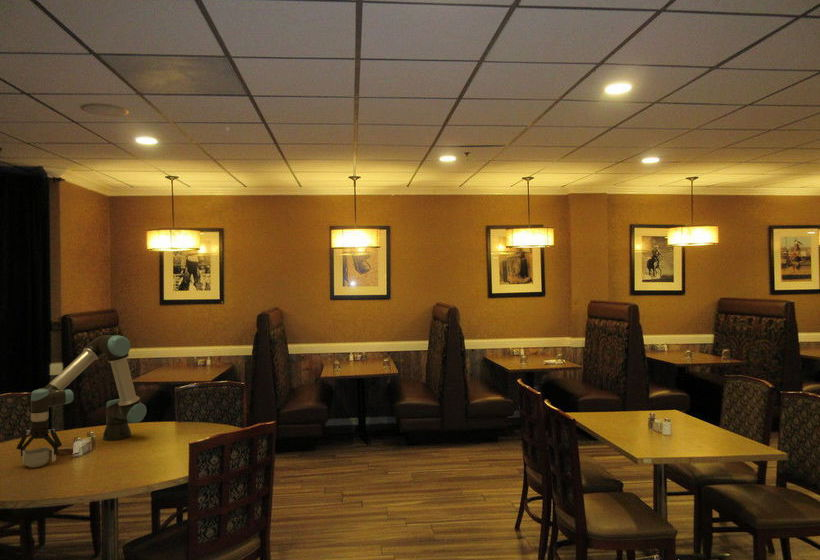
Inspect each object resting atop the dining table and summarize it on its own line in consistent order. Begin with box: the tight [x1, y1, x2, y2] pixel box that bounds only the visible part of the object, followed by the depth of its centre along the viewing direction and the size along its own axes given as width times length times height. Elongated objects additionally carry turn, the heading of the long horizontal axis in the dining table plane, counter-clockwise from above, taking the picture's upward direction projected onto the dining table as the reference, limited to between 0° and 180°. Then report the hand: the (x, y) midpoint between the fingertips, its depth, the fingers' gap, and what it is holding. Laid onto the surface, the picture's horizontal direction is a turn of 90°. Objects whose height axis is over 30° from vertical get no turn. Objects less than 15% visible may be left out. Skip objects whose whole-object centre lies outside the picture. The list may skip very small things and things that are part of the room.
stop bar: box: [49, 446, 74, 457], centre depth 293 cm, size 22×3×3 cm, turn 99°
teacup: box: [24, 446, 50, 469], centre depth 275 cm, size 14×11×8 cm
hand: (39, 461), depth 275 cm, fingers open, 13 cm apart
